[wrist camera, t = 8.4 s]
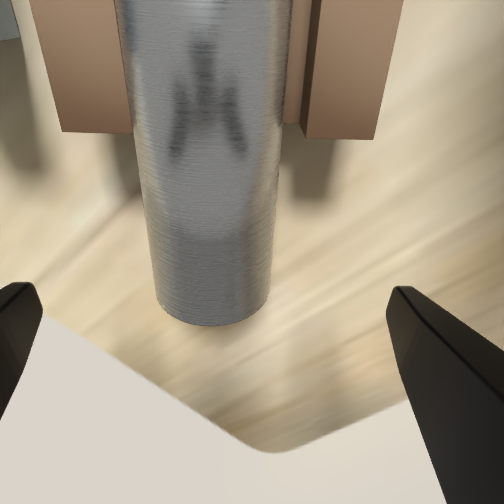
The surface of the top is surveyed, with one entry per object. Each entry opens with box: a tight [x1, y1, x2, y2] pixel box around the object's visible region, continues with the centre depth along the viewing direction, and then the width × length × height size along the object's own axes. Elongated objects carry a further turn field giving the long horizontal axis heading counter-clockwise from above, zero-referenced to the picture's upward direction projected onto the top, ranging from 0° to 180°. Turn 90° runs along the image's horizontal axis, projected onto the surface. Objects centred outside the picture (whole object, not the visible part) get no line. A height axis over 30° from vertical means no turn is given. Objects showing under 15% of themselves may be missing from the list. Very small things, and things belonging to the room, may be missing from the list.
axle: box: [115, 0, 293, 326], centre depth 9 cm, size 14×4×4 cm, turn 178°
